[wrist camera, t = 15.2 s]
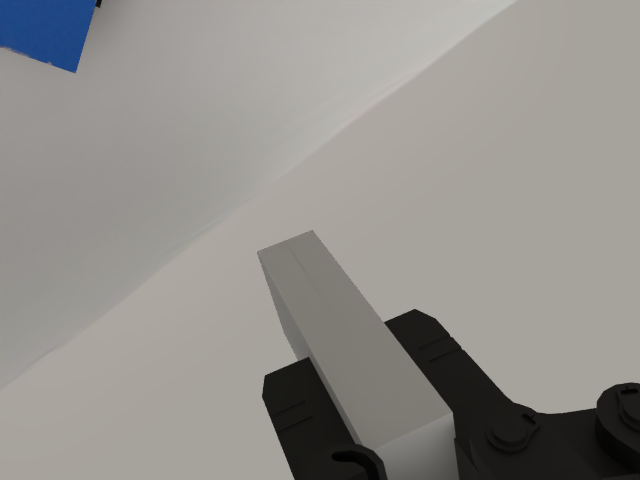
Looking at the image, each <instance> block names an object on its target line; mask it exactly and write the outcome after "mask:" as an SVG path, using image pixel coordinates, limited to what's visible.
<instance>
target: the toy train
mask: <svg viewBox="0 0 640 480" xmlns="http://www.w3.org/2000/svg"><path fill="white" fill-rule="evenodd" d="M101 2H102V0H0V47H1V48H4V49H7V50H10V51H13V52H15V53H18V54H21V55H24V56H27V57H30V58H33V59H36V60H38V61H41V62H44V63H47V64H50V65H53V66H56V67H58V68H61V69H64V70H67V71H70V72H73V73H76V70H77V67H78V63H79V60H80V56H81V53H82V50H83V46H84V43H85V39H86V36H87V32H88V29H89V25H90V22H91V19H92V15H93V12H94V8H95V6H96V7H99V8H100V5H101Z"/></svg>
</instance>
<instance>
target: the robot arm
mask: <svg viewBox="0 0 640 480" xmlns="http://www.w3.org/2000/svg"><path fill="white" fill-rule="evenodd" d="M257 254H258V256H259V259H260V263H261V266H262V268H263V271H264V274H265V277H266V280H267V283H268V286H269V289H270V292H271V295H272V298H273V301H274V304H275V307H276V310H277V313H278V316H279V319H280V322H281V325H282V328H283V331H284V333H285V335H286V337H287V339H288V341H289V343H290V345H291V347H292V349H293V351H294V353H295V355H296V357H297V359H298V361H297V362H295V363H293V364H290V365H288V366H286V367H284V368H282V369H279V370H277V371H274V372H272V373H270V374H267V375H265V378H264V386H263V394H262V398H263V400H264V403H265V406H266V408H267V410H268V413H269V416H270V418H271V421H272V423H273V426H274V428H275V431H276V433H277V436H278V439H279V441H280V444H281V446H282V449H283V451H284V454H285V456H286V459H287V462H288V464H289V467H290V469H291V472H292V474H293V477H294V479H295V480H640V384H639V383H624V384H617V385H614V386H612V387H611V388H609V389H607V390H605V391H604V392H603V393H602V395H601V396H600V398H599V399H598V401H597V408H593V409H587V410H580V411H574V412H567V413H557V414H545V413H537V412H536V411H534V410H533V409H532V408H529V407H526V406H523V405H520V404H517V403H513V402H512V401H511V400H510V399H509V398H508V397H506V396H505V395H504V394H503V392H501V390H500V389H499V388H498V387H497V386H496V385H495V384H494V383H493V381H492V380H491V379H490V378H489V377H488V376H487V375H486V374H485V373H484V372H483V371H482V369H481V368H480V367H479V366H478V365H477V364H476V363H475V362H474V361H473V359H472V358H471V357H470V356H469V355H468V354H467V353H466V352H465V351H464V350H462V349H461V346H460V345H459V344H458V343H457V342H456V341H455V340H454V338H453V337H450V334H449V333H448V332H447V331H446V330H445V329H444V327H443V326H442V325H441V324H440V323H439V322H438V321H437V320H436V319H435V318H433V317H431V316H429V315H427V314H425V313H423V312H420V311H418V310H416V309H413V310H411V311H409V312H407V313H404V314H402V315H400V316H397V317H395V318H393V319H390V320H388V321H386V322H383V321H382V320H381V318H380V317H379V316H378V315H377V313H376V312H375V311H374V309H373V308H372V307H371V305H370V304H369V303H368V302H367V300H366V299H365V298H364V297H363V295H362V294H361V293H360V291H359V290H358V289H357V287H356V286H355V285H354V283H353V282H352V281H351V279H350V278H349V277H348V276H347V274H346V273H345V272H344V270H343V269H342V268H341V266H340V265H339V264H338V263H337V261H336V260H335V259H334V257H333V256H332V255H331V253H330V252H329V251H328V250H327V248H326V247H325V246H324V244H323V243H322V242H321V240H320V239H319V238H318V237H317V235H316V234H315V233H314V231H313V230H311V231H309V232H306V233H304V234H301V235H299V236H296V237H293V238H291V239H288V240H286V241H283V242H281V243H278V244H276V245H273V246H270V247H268V248H265V249H263V250H260V251H258V252H257Z"/></svg>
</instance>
